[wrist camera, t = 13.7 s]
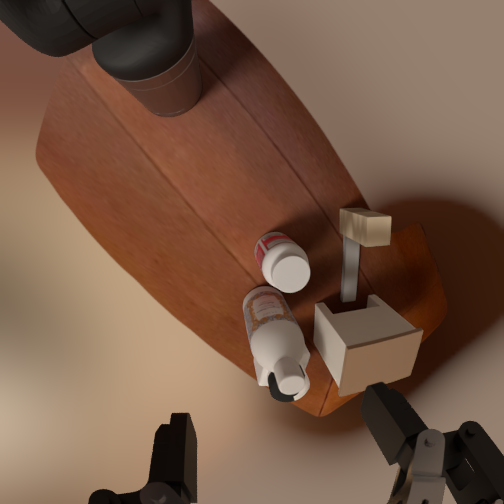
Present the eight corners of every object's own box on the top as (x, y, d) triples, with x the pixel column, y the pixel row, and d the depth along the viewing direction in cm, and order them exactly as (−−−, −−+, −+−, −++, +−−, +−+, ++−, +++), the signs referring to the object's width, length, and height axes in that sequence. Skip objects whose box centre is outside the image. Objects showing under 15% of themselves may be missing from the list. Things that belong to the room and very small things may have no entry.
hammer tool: (339, 208, 43) (367, 217, 34) (361, 207, 43) (391, 216, 35) (336, 300, 47) (358, 324, 39) (356, 297, 48) (380, 320, 39)
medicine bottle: (252, 361, 49) (262, 407, 37) (260, 328, 47) (273, 372, 35) (289, 363, 50) (306, 406, 38) (299, 331, 48) (321, 373, 37)
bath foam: (280, 280, 45) (323, 352, 26) (286, 317, 47) (324, 397, 28) (238, 289, 45) (254, 369, 25) (246, 326, 46) (265, 413, 27)
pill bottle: (276, 276, 45) (293, 307, 34) (245, 254, 43) (255, 280, 33) (301, 246, 44) (326, 269, 33) (271, 222, 42) (289, 239, 32)
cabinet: (313, 301, 47) (348, 349, 33) (376, 292, 48) (423, 330, 34) (311, 343, 49) (339, 396, 35) (371, 332, 50) (410, 375, 36)
